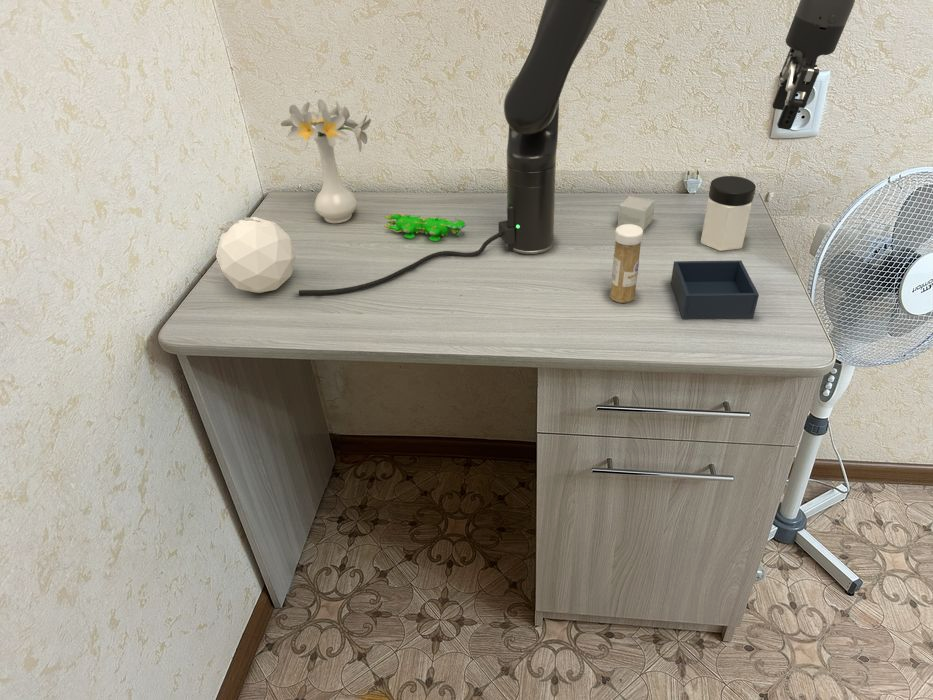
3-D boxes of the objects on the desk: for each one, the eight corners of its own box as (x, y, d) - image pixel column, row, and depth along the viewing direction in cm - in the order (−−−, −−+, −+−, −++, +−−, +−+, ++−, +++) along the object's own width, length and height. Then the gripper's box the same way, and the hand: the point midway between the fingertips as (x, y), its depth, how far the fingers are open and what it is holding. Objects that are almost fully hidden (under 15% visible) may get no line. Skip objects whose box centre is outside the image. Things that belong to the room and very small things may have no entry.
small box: (652, 221, 145) (655, 199, 142) (642, 232, 141) (645, 210, 138) (627, 215, 147) (629, 194, 144) (616, 226, 143) (618, 205, 140)
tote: (682, 319, 116) (686, 295, 113) (670, 284, 125) (673, 261, 122) (753, 318, 115) (759, 294, 112) (736, 283, 124) (741, 260, 121)
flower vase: (379, 228, 148) (363, 112, 133) (295, 232, 149) (269, 116, 134) (384, 202, 159) (370, 91, 143) (305, 205, 159) (283, 96, 144)
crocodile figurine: (462, 245, 140) (460, 226, 138) (380, 237, 145) (377, 219, 142) (470, 230, 145) (470, 212, 143) (391, 223, 150) (389, 205, 147)
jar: (753, 241, 136) (767, 184, 128) (729, 256, 132) (741, 198, 124) (714, 226, 141) (725, 171, 134) (690, 239, 137) (700, 183, 130)
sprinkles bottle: (633, 305, 120) (642, 237, 112) (607, 302, 121) (613, 234, 113) (636, 291, 123) (644, 224, 115) (611, 288, 125) (617, 221, 116)
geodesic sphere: (195, 288, 120) (229, 222, 115) (198, 251, 131) (230, 188, 126) (275, 318, 128) (311, 257, 123) (272, 280, 139) (304, 222, 134)
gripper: (790, 0, 111) (754, 99, 122) (802, 25, 101) (761, 131, 111) (838, 7, 110) (798, 106, 121) (855, 33, 100) (808, 139, 111)
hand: (780, 118), depth 116 cm, fingers open, 8 cm apart
